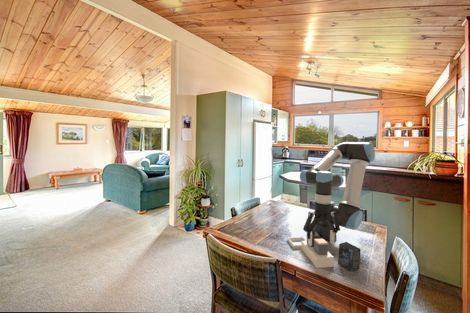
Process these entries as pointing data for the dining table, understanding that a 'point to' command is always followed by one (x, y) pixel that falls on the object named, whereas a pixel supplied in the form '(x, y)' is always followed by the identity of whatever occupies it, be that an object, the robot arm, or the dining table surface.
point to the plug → (321, 246)
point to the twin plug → (313, 237)
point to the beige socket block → (317, 256)
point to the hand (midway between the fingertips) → (320, 244)
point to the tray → (295, 242)
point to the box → (349, 256)
